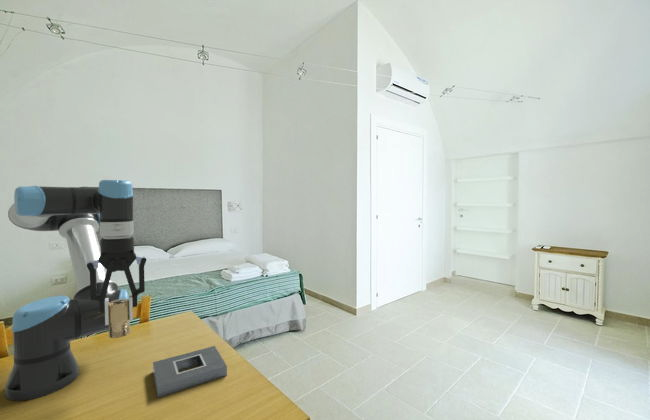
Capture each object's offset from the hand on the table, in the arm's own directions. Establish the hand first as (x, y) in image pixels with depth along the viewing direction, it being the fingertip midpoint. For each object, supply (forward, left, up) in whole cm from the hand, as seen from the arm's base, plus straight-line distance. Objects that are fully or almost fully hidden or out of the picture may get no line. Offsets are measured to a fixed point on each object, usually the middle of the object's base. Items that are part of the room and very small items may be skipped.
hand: (119, 320), depth 83 cm
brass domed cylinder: (0, 0, -4) cm, 4 cm away
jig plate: (+4, +17, -19) cm, 26 cm away
